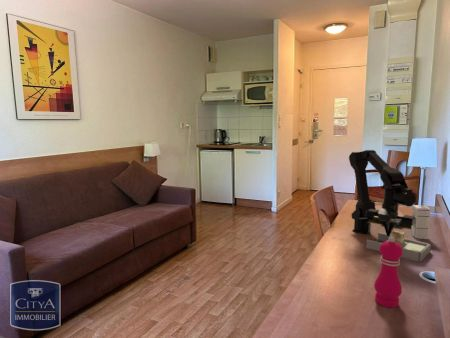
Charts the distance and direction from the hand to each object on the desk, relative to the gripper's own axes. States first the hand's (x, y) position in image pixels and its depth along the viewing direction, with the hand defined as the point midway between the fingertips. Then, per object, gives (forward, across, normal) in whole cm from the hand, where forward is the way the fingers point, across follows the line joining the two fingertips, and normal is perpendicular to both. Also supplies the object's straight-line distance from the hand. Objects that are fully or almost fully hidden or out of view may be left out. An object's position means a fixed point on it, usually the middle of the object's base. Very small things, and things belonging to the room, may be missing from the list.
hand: (388, 236), depth 141 cm
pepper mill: (+4, +16, -49) cm, 52 cm away
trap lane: (+4, +5, -3) cm, 7 cm away
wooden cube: (+2, +4, 0) cm, 4 cm away
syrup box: (+4, +6, +22) cm, 23 cm away
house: (+5, -13, +46) cm, 48 cm away
